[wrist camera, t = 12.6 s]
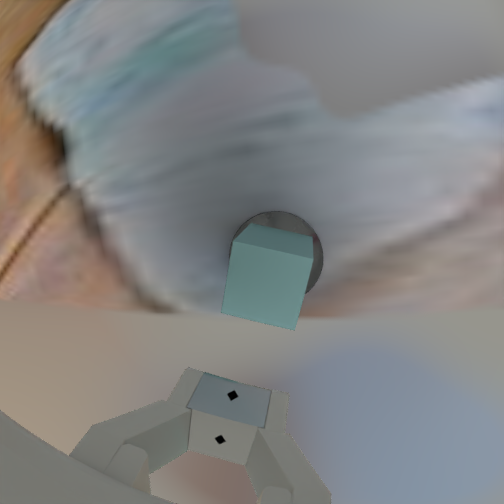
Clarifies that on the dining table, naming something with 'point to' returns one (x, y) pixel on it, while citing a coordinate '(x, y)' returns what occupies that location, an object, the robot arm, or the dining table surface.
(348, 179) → the dining table surface
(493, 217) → the dining table surface
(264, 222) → the grey round stand
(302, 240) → the teal rectangular block
